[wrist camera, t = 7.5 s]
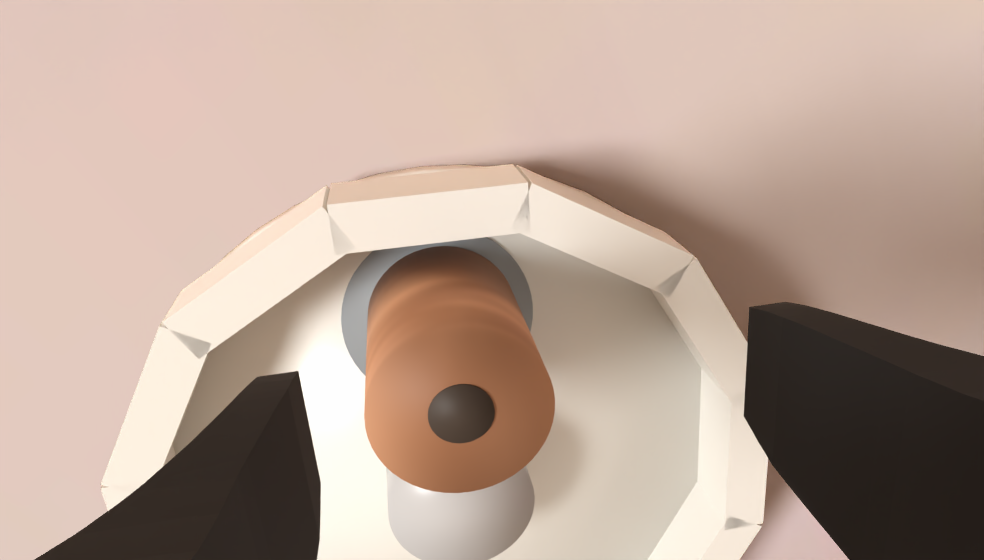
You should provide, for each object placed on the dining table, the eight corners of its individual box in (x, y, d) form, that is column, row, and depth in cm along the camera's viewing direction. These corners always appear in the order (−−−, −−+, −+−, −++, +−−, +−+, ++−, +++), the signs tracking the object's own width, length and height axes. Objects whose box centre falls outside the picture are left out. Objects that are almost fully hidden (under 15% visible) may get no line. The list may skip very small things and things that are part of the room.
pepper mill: (510, 237, 20) (551, 315, 15) (519, 371, 21) (559, 479, 17) (357, 255, 19) (350, 341, 15) (377, 390, 21) (377, 507, 16)
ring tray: (739, 132, 21) (792, 153, 18) (714, 616, 27) (750, 682, 25) (67, 203, 19) (19, 238, 16) (215, 708, 25) (198, 790, 23)
